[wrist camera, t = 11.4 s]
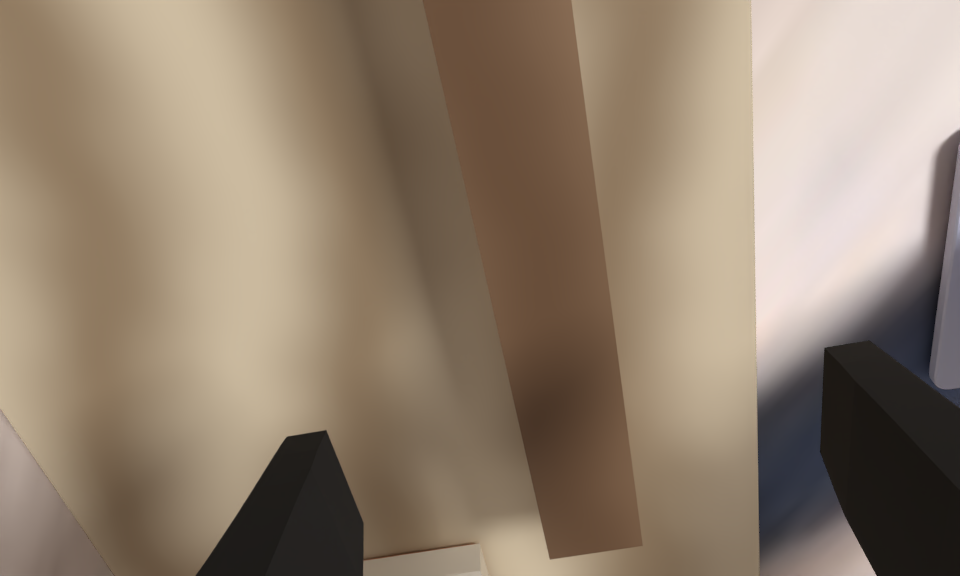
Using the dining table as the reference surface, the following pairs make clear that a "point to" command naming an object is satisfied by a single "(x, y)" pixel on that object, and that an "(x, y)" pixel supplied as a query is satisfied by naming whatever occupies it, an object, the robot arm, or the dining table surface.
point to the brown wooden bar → (542, 256)
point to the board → (357, 275)
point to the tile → (430, 563)
